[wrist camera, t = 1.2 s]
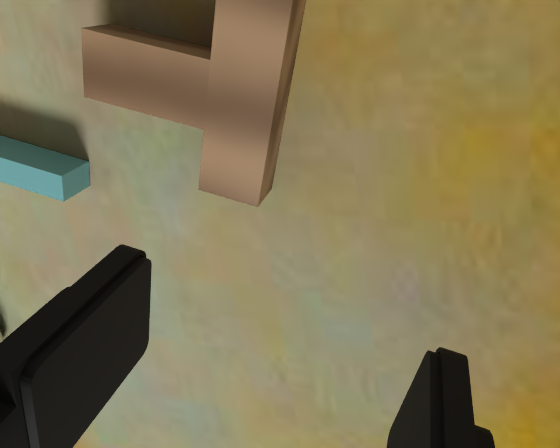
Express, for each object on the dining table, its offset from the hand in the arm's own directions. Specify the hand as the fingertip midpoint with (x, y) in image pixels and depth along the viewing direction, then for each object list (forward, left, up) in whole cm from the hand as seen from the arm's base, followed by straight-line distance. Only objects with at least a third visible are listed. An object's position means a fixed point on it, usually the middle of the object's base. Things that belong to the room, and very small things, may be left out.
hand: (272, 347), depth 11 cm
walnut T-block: (0, -11, -20) cm, 23 cm away
